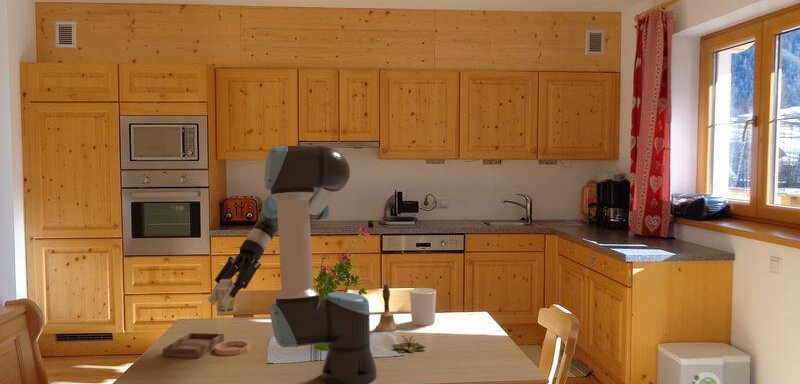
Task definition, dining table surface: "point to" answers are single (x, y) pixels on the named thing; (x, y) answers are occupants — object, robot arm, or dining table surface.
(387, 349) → the dining table surface
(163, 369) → the dining table surface
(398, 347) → the lily flower
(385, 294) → the hand bell
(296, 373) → the dining table surface
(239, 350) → the terracotta ring
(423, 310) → the candle holder
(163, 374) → the dining table surface
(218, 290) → the supplement bottle
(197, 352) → the walnut tray
